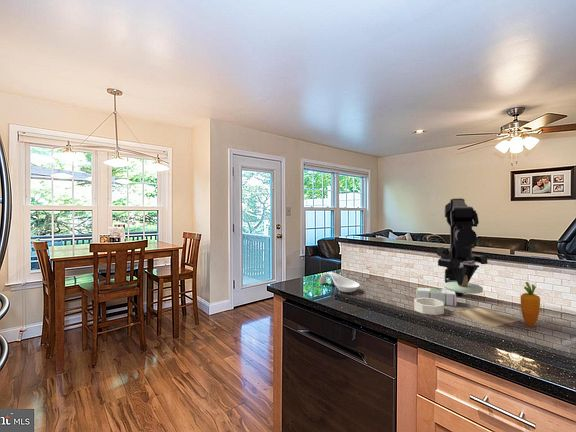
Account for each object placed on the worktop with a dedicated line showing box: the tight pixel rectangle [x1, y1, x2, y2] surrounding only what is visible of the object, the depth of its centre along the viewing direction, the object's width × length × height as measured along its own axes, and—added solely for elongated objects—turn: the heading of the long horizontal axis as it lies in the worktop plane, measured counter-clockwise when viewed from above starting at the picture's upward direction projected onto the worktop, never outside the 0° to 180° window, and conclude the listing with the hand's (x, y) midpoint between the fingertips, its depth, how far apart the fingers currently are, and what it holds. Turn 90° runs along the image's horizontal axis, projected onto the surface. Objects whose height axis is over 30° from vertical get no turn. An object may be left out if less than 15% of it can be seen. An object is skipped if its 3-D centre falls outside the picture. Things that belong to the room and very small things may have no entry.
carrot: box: [520, 281, 541, 328], centre depth 95 cm, size 5×5×15 cm
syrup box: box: [415, 286, 458, 307], centre depth 120 cm, size 6×6×14 cm
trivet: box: [454, 306, 521, 328], centre depth 104 cm, size 14×14×1 cm
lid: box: [444, 275, 484, 295], centre depth 106 cm, size 12×12×5 cm
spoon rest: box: [318, 271, 361, 293], centre depth 146 cm, size 24×12×7 cm, turn 38°
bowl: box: [413, 297, 445, 316], centre depth 111 cm, size 10×10×4 cm
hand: (462, 284), depth 106 cm, fingers closed on lid, 3 cm apart
